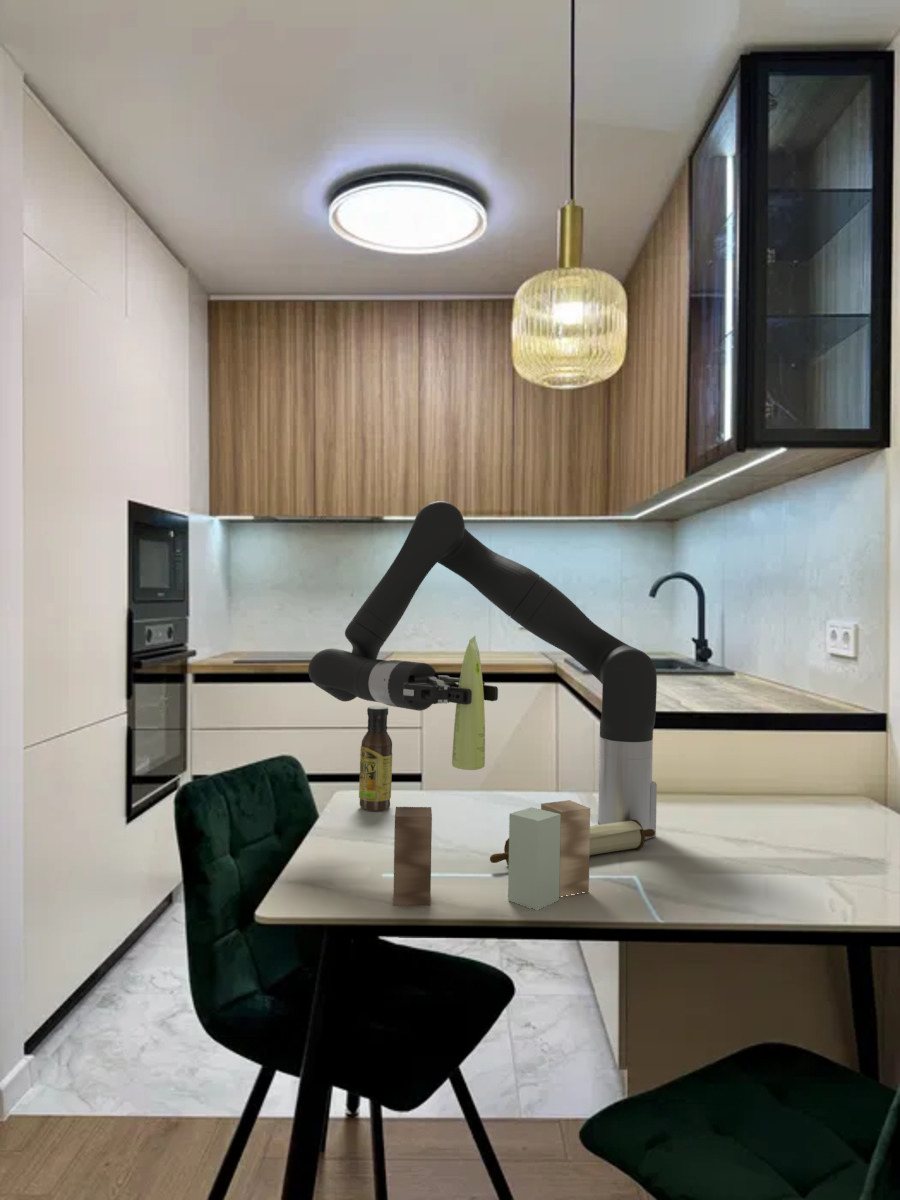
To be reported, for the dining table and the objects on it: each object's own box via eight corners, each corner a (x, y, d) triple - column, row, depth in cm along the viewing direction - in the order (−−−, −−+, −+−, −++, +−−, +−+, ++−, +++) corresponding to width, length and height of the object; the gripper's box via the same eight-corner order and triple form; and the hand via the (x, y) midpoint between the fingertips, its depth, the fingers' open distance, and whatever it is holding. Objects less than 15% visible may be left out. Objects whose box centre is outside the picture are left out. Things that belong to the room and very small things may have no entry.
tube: (494, 769, 121) (497, 637, 121) (466, 773, 119) (469, 638, 118) (472, 761, 126) (475, 635, 126) (444, 765, 123) (447, 635, 123)
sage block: (530, 891, 116) (531, 807, 116) (559, 900, 113) (560, 814, 113) (507, 900, 113) (509, 813, 113) (537, 910, 109) (538, 820, 109)
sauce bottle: (352, 806, 161) (354, 705, 161) (379, 802, 165) (381, 703, 165) (370, 814, 156) (371, 709, 156) (397, 809, 160) (399, 707, 159)
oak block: (568, 881, 121) (569, 800, 121) (588, 892, 116) (590, 808, 116) (539, 886, 119) (541, 803, 119) (559, 897, 114) (561, 811, 114)
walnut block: (429, 892, 116) (431, 807, 115) (430, 905, 111) (431, 816, 110) (394, 891, 115) (395, 806, 115) (393, 905, 110) (394, 816, 110)
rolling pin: (642, 842, 142) (643, 813, 142) (665, 851, 137) (665, 821, 137) (481, 868, 127) (481, 836, 127) (500, 879, 122) (500, 846, 122)
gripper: (370, 663, 127) (451, 672, 115) (434, 658, 137) (514, 667, 126) (369, 711, 127) (450, 726, 115) (433, 703, 137) (513, 716, 126)
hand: (483, 695), depth 121 cm, fingers closed on tube, 5 cm apart
